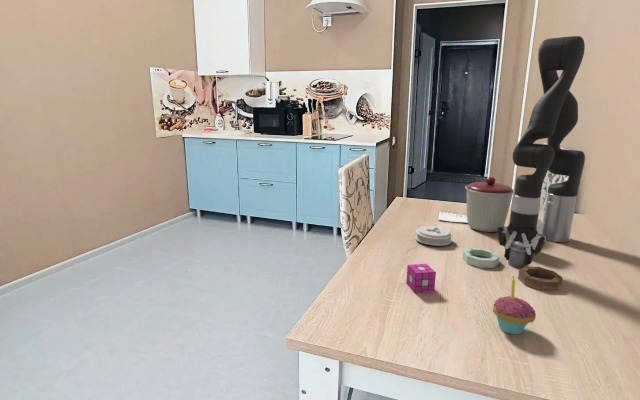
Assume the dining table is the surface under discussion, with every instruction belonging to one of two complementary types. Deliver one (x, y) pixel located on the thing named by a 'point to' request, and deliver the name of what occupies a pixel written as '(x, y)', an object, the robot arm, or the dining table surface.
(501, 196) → the canister
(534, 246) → the photo printer
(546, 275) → the walnut ring
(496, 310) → the cupcake
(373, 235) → the dining table surface
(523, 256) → the cap
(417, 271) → the puzzle toy
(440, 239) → the lid
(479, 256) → the sage ring
